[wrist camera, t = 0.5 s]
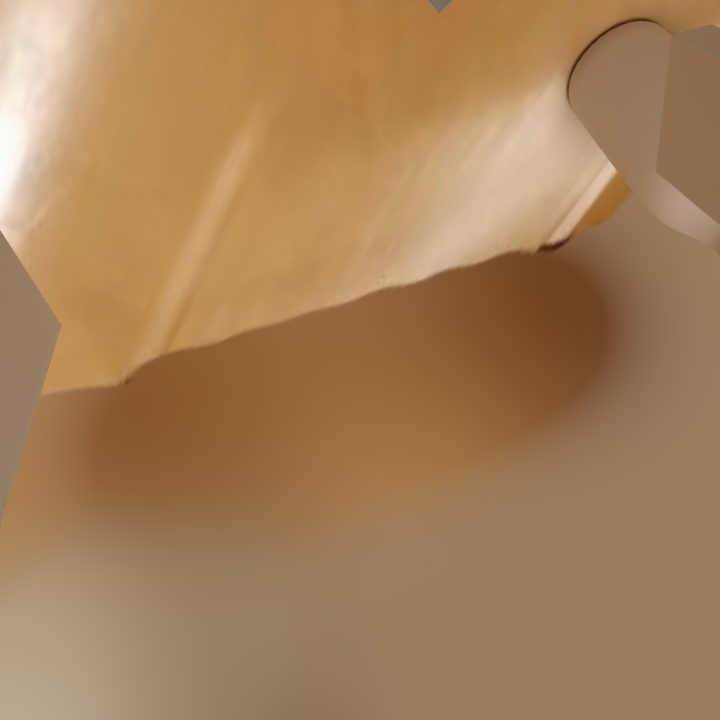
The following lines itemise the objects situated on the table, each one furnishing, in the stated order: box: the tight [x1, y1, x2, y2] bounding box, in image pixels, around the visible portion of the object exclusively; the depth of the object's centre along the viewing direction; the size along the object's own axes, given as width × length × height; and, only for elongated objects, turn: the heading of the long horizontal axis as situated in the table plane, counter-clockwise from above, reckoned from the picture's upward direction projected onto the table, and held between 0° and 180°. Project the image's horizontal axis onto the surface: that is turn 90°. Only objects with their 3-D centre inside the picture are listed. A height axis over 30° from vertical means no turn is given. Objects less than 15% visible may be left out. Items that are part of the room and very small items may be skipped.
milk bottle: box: [569, 21, 720, 254], centre depth 42 cm, size 8×8×20 cm
